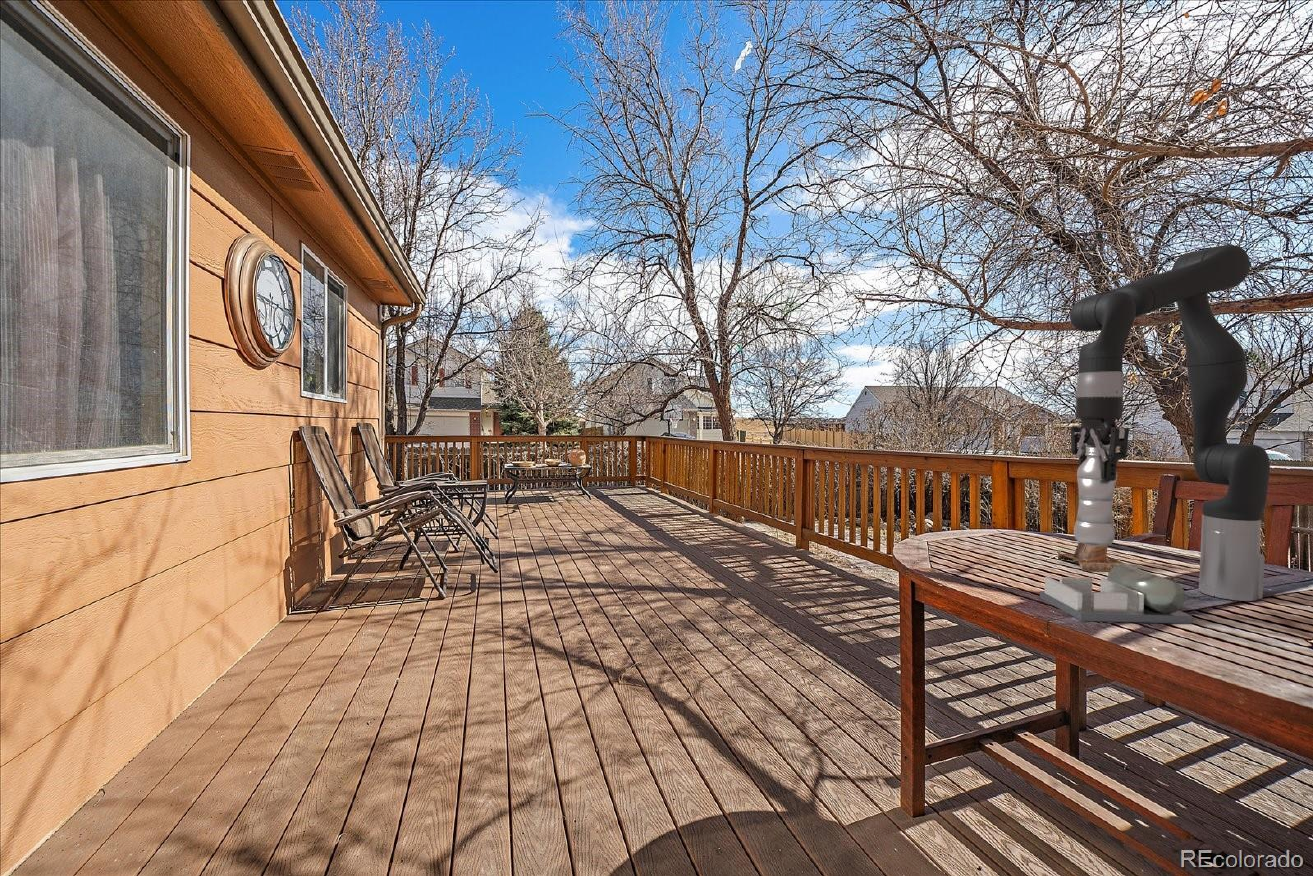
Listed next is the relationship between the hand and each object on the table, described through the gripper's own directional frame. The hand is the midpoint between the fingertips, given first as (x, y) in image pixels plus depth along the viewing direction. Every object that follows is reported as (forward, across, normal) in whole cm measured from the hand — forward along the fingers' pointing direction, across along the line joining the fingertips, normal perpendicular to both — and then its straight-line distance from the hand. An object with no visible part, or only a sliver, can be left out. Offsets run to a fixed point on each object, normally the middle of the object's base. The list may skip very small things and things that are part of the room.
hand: (1096, 478), depth 119 cm
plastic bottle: (+14, 0, 0) cm, 14 cm away
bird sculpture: (+27, +35, -22) cm, 49 cm away
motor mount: (+27, 0, -4) cm, 27 cm away
